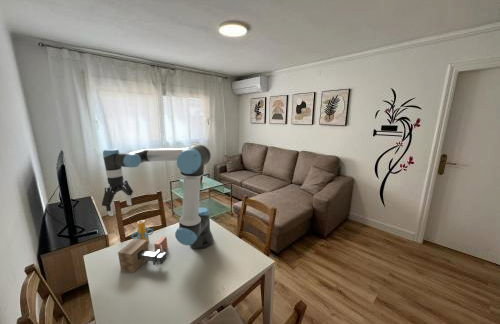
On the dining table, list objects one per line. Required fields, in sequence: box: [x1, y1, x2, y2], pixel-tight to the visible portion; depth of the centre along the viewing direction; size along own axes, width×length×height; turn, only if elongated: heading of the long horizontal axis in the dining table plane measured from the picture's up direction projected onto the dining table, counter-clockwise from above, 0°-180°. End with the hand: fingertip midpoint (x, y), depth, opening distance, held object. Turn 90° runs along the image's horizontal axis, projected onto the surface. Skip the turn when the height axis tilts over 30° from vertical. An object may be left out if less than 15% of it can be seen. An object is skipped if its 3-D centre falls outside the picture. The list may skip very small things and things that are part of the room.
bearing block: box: [117, 239, 150, 273], centre depth 111 cm, size 8×12×11 cm, turn 169°
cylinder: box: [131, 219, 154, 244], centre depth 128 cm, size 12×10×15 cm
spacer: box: [153, 235, 168, 254], centre depth 122 cm, size 3×8×8 cm, turn 169°
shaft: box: [137, 250, 167, 266], centre depth 109 cm, size 18×5×5 cm, turn 79°
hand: (120, 210), depth 121 cm, fingers open, 13 cm apart
